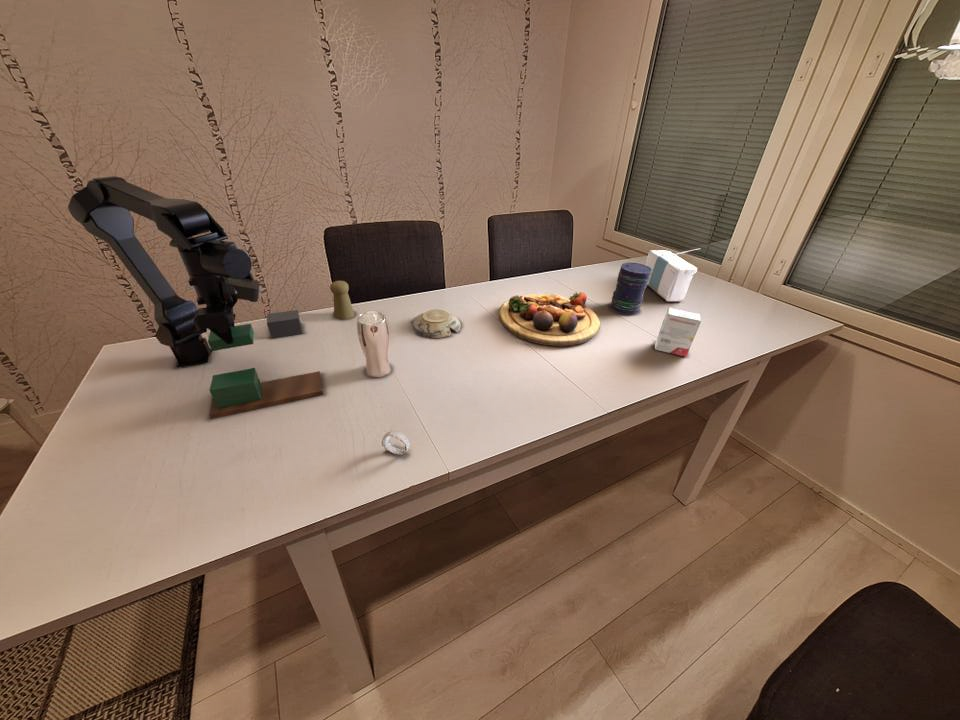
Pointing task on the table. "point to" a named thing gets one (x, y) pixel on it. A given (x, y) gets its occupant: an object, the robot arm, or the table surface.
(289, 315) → the grey book
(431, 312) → the decorative bowl
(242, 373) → the green book
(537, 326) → the wooden plate
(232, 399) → the green book
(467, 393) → the table surface
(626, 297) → the storage jar
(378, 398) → the table surface
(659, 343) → the ink box
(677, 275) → the radio
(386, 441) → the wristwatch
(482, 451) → the table surface
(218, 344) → the green rectangular block
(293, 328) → the grey book
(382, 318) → the beer glass
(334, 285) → the olive green pawn
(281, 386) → the shelf board
